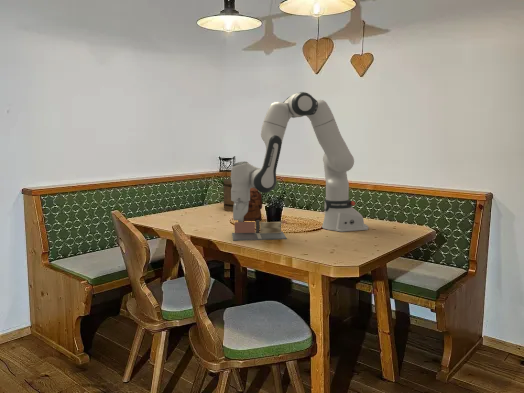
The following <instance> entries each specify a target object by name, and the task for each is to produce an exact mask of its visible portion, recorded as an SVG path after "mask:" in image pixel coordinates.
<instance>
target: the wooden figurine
mask: <svg viewBox="0 0 524 393" xmlns="http://www.w3.org/2000/svg"><path fill="white" fill-rule="evenodd" d="M262 196H263V195H262V192H260V191H258V190H257V189H255V188H250V201H249V205H248V212H247V213H246V215H245V216H244V220H243V221H255V222H256V220H260V221H261V220H262V219H263V217H262V208H263V200H262V199H263V197H262Z"/></svg>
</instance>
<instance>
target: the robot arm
mask: <svg viewBox="0 0 524 393" xmlns="http://www.w3.org/2000/svg"><path fill="white" fill-rule="evenodd" d="M304 116H305V117H307V118H308V120H309V122H310V123H311V126H312V129H313V132H314V134H315V136H316V139H317V142H318V144H319V145H320V147H321V149H322V150H323V152H324V153H323V156H322V161H323V169H324V171H323V172H324V177H325V199H324V217H323V223H322V226H321V227H322V228H323V229H325V230H329V231H337V232H341V233H342V232H343V233H344V232H352V231H353V232H354V231H355V232H356V231H368V230H369V225H368V224H366V223H364V222H365V221H364V217H363V215H362V214H361V213H360V212H359V211H357V209H355V208H354V207H353V206H356V202H355V201H353V200H351V199H349V194H350V193H349V189H350V182H349V180H348V174H347V172H349V171H350V170H351V169H353V167H354V165H355V164H354V163H355V158H354V156H353V155H352V153H351V151H350V149H349V147H348V145H347V144H346V142H345V139H344V138H343V136H342V134H341V132H340V130H339V126H338V123H337V122H336V119H335V116H334V114H333V112H332V110H331V108H330V106H329V105H328V103H327V102H326V100H324V99H316V98H315V97H314V96H312V94H310V93H308V92H306V91H300V92H297V93H293V94H291V95H290V96H288V97H287V98H286V99H285V100H284V101H283V102H282V101H273V102H272V103H271V104H270V106H269V108H268V109H267V111H266V114H265V116H264V120H263V122H262V126H261V132H260V137H261V140H262V141H263V142H264V144H265V155H264V159H263V162H262V167H261V168H260V167H258V166H254V165H253V164H251V163H249V162H248V161H237V162H235V163H234V164H233V165H232V166H231V171H230V178H231V183H232V188H231V201H234V206H233V212H232V218H233V221H237V222H243V220H244V216H245V215H246V213H247V212H248V205H249V201H250V188H255V189H257V190H258V191H259V192H260V193H261V194H266V193H270V192H271V191H273V190H274V189H275V187H276V185H277V168H278V167H277V166H278V163H279V159H280V154H281V150H282V144H283V140H284V137H285V134H286V130H287V127H288V123H289V122H290V120H291V118H293V119H294V118H302V117H304Z"/></svg>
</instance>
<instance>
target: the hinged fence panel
mask: <svg viewBox="0 0 524 393" xmlns="http://www.w3.org/2000/svg"><path fill="white" fill-rule="evenodd" d="M255 232H256V221H255V222H238V221H235V222H234V233H255Z"/></svg>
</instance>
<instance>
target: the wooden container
mask: <svg viewBox="0 0 524 393" xmlns="http://www.w3.org/2000/svg"><path fill="white" fill-rule="evenodd" d="M231 188H232V183H231V177H230V178H225V179H223V210H224V211H226V212H232V213H233V206H234V201H231Z"/></svg>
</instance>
